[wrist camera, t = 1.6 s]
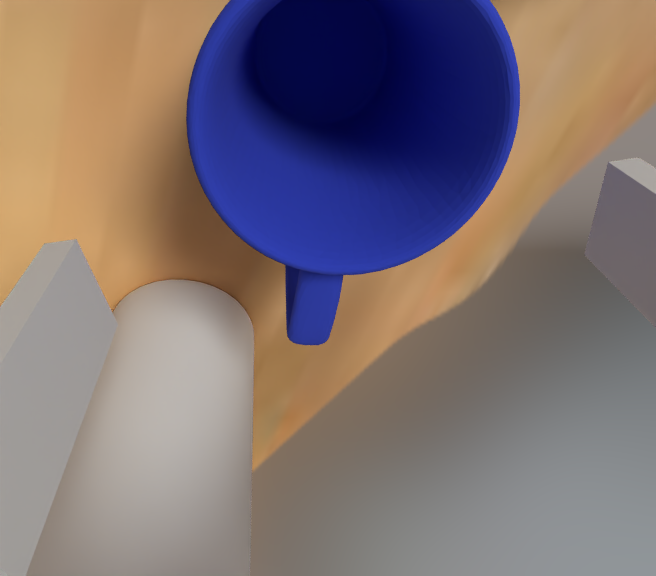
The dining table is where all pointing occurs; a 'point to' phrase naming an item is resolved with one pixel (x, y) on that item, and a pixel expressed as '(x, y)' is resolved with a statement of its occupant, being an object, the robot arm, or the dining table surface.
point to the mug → (350, 133)
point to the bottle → (161, 445)
